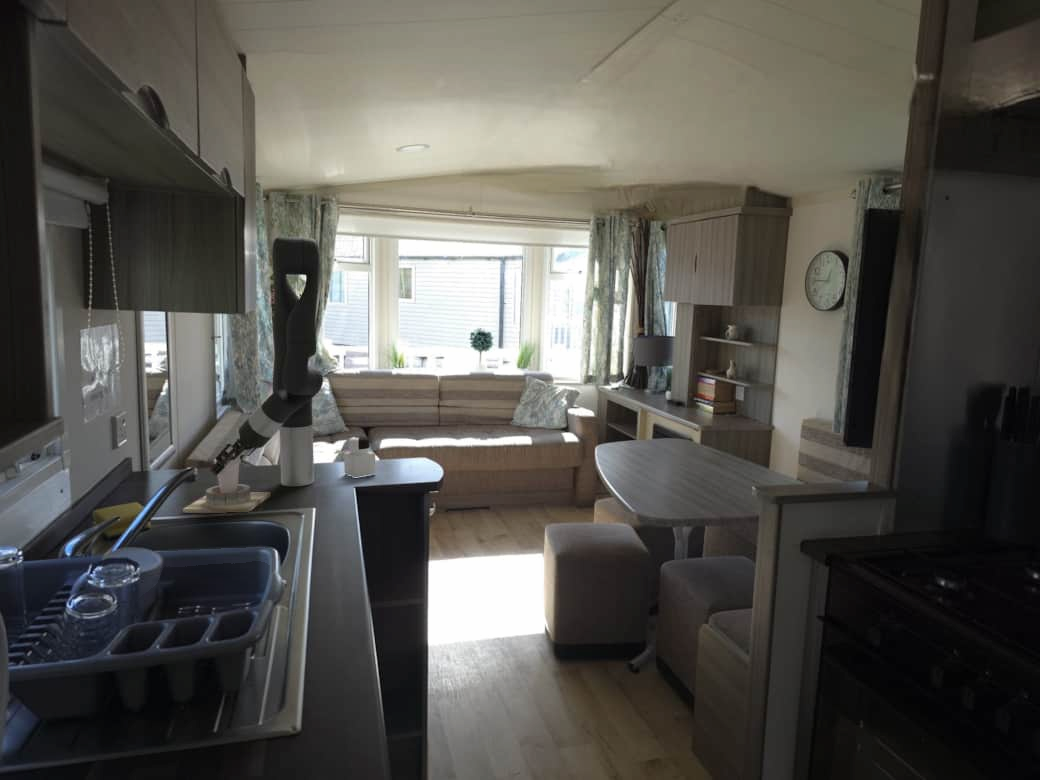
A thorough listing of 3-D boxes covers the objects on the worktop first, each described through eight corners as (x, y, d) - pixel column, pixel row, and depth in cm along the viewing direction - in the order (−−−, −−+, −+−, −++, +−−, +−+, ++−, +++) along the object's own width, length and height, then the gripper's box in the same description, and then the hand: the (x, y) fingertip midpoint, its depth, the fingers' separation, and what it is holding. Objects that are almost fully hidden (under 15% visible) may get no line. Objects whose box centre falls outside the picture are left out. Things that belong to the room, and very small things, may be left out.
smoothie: (232, 498, 170) (230, 444, 169) (210, 497, 171) (207, 443, 170) (247, 492, 176) (245, 440, 175) (225, 491, 178) (223, 439, 176)
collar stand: (211, 495, 182) (210, 481, 182) (270, 495, 182) (270, 481, 182) (183, 512, 166) (182, 497, 166) (247, 512, 167) (247, 497, 166)
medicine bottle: (365, 471, 212) (364, 434, 210) (375, 475, 206) (375, 437, 205) (344, 474, 207) (343, 436, 206) (354, 479, 202) (353, 440, 200)
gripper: (267, 411, 178) (228, 453, 181) (235, 419, 163) (194, 464, 167) (286, 431, 177) (247, 473, 180) (256, 441, 163) (214, 486, 166)
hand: (222, 469), depth 174 cm, fingers closed on smoothie, 6 cm apart
